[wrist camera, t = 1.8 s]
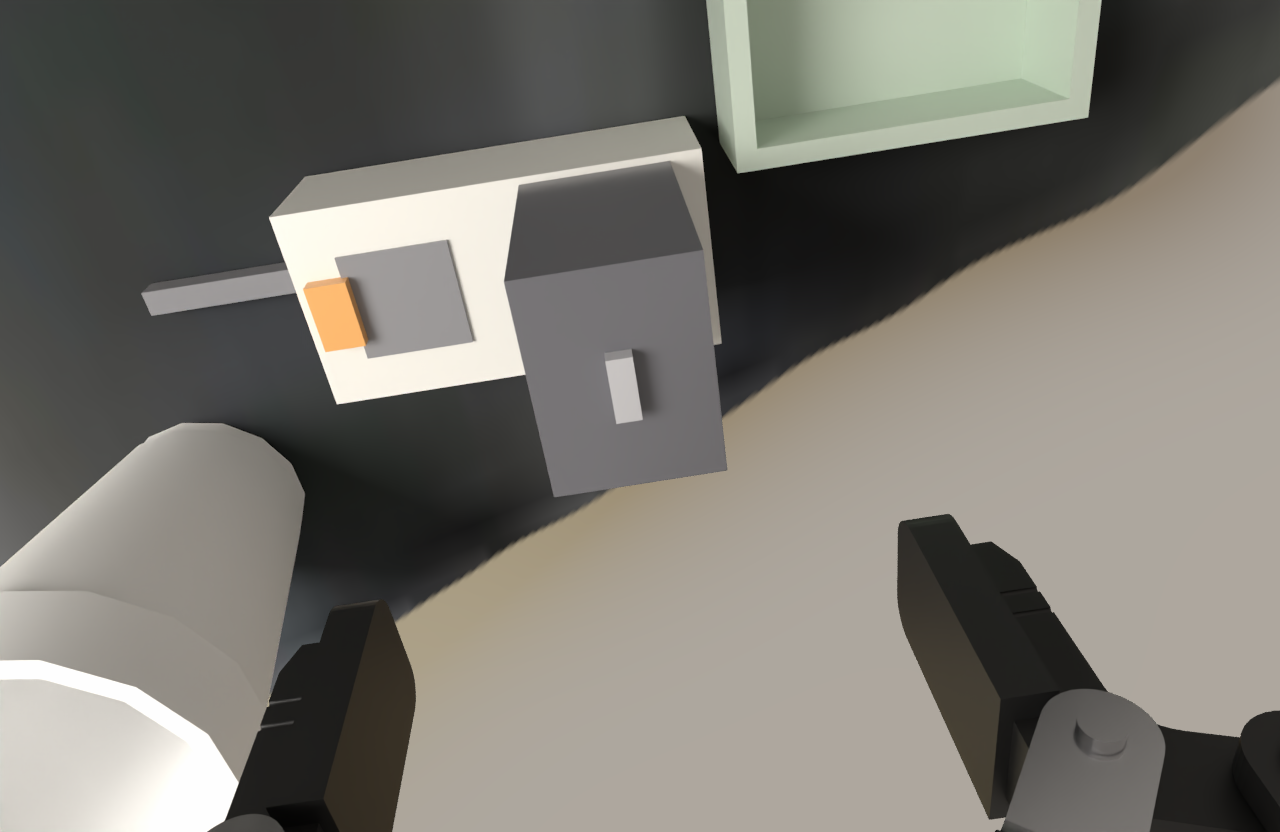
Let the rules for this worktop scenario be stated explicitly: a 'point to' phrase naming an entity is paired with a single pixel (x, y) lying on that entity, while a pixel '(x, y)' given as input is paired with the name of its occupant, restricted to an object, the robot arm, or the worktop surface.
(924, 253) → the worktop surface
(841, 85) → the tray
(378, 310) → the power strip
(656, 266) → the block
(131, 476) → the foam cup
